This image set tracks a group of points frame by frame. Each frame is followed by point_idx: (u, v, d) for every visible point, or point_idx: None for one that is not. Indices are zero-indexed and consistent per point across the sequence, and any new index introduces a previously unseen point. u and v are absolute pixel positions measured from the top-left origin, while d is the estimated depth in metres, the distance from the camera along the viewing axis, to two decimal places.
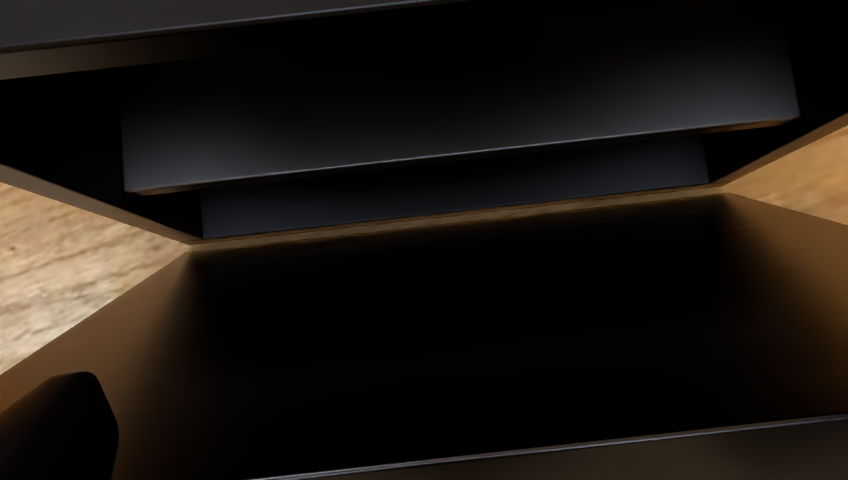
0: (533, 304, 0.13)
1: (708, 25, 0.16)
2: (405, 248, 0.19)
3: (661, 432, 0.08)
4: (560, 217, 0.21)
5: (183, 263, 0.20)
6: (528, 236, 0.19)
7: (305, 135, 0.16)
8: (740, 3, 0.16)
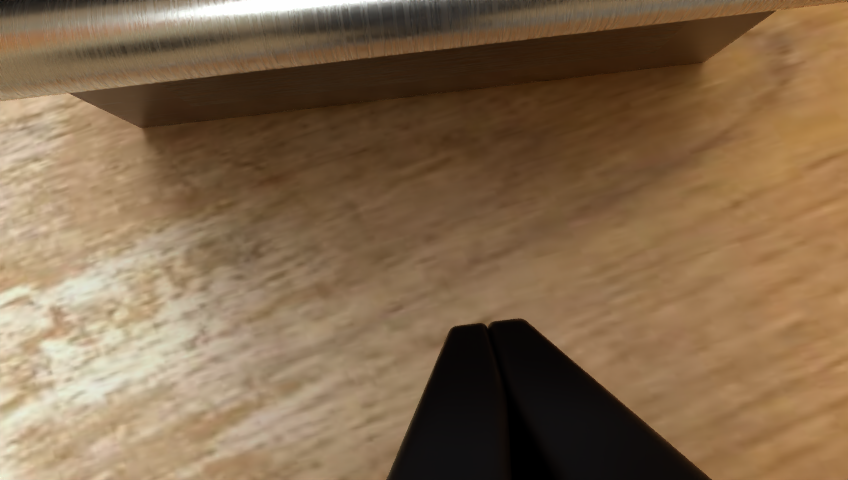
0: None
1: None
2: None
3: None
4: None
5: None
6: None
7: None
8: None
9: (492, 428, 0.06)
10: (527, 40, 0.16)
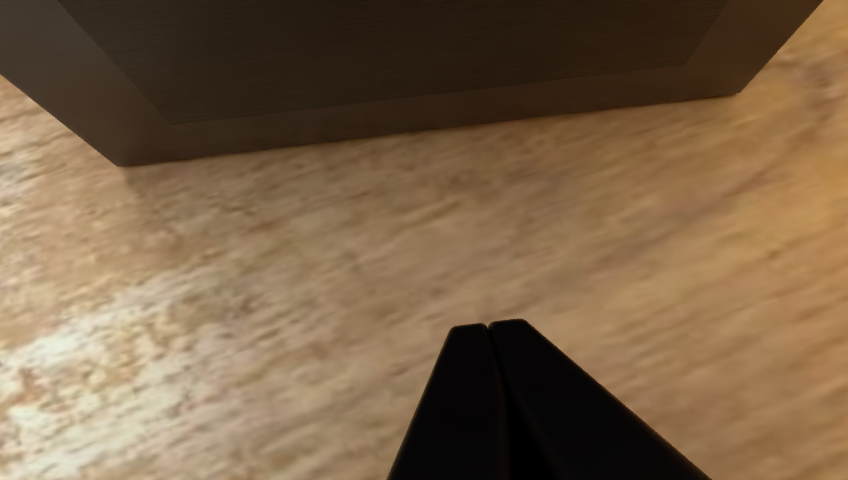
0: None
1: None
2: None
3: None
4: None
5: None
6: None
7: None
8: None
9: (492, 428, 0.06)
10: (542, 28, 0.14)
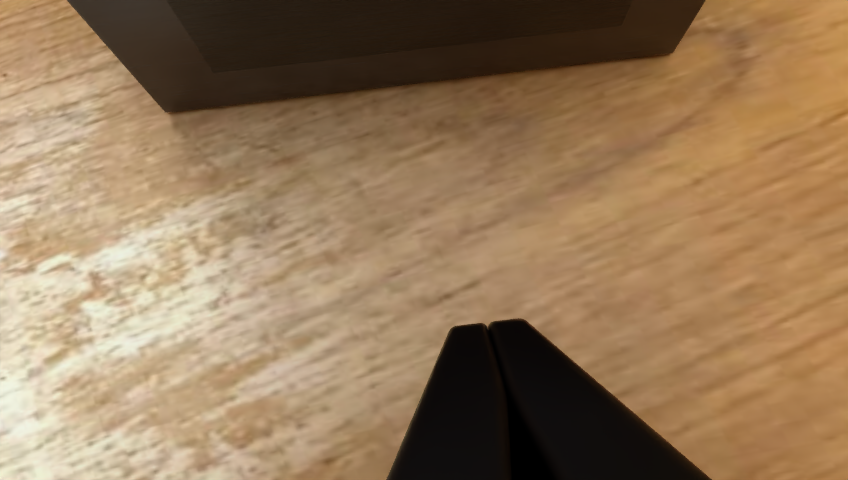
0: None
1: None
2: None
3: None
4: None
5: None
6: None
7: None
8: None
9: (492, 428, 0.06)
10: None
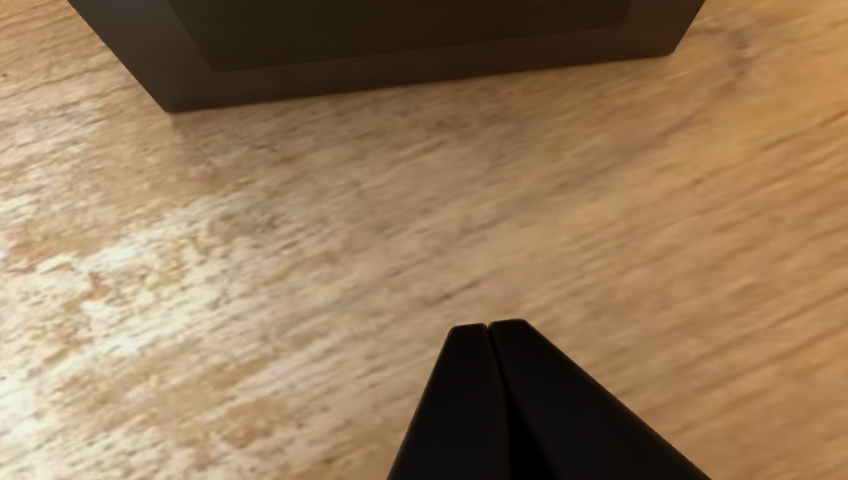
0: None
1: None
2: None
3: None
4: None
5: None
6: None
7: None
8: None
9: (492, 428, 0.06)
10: None
